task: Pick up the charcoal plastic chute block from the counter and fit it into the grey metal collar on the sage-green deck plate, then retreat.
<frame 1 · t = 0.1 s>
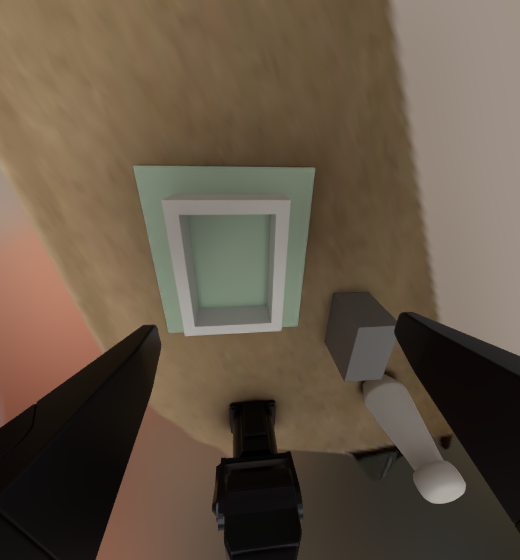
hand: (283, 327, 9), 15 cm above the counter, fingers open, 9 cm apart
salt shaker: (375, 381, 34), on the counter
chute block: (344, 317, 28), on the counter
deck plate: (231, 257, 23), on the counter
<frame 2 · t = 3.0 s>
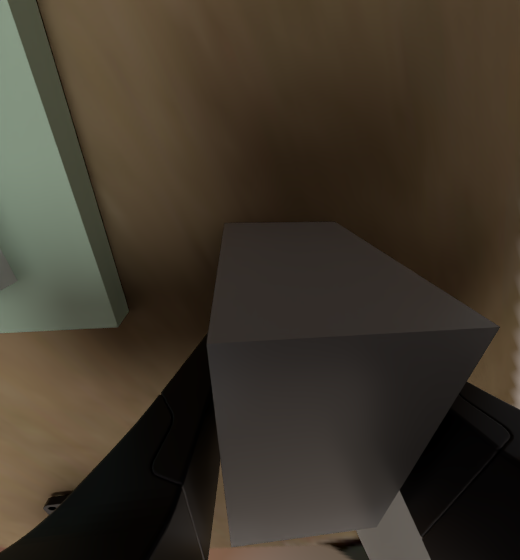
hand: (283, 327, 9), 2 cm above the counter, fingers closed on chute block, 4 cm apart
salt shaker: (367, 442, 16), on the counter
chute block: (276, 304, 10), on the counter, touching gripper
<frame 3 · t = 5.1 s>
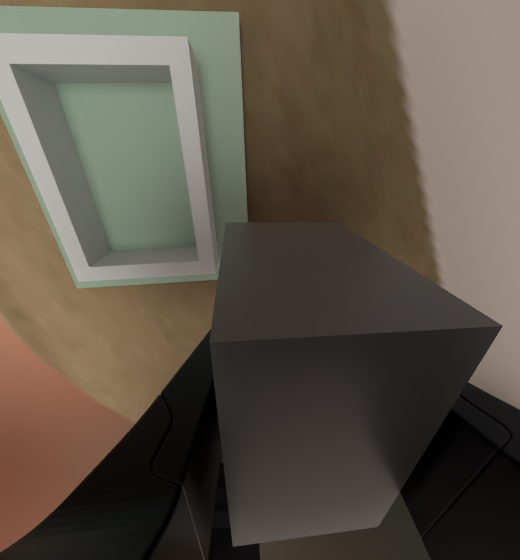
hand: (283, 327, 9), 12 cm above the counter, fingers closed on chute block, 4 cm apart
chute block: (277, 304, 10), point 11 cm above the counter, touching gripper
deck plate: (146, 176, 17), on the counter
when the fingers open (5 cm above the counter, at t = 7.6 s): chute block drops 2 cm, resting on deck plate.
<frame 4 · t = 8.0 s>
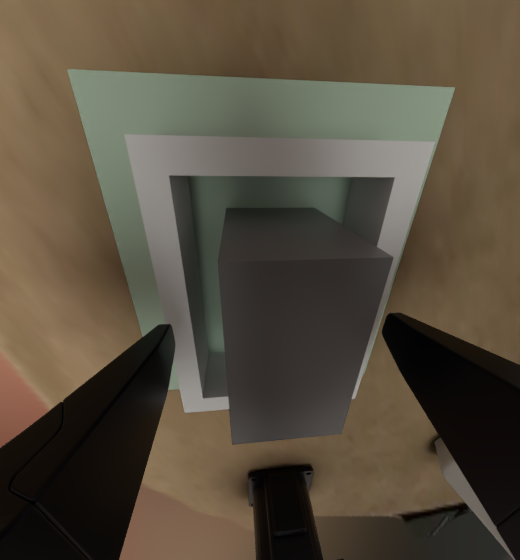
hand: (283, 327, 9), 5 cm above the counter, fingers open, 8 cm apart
salt shaker: (451, 437, 24), on the counter
chute block: (268, 277, 12), point 1 cm above the counter, touching deck plate
deck plate: (266, 269, 13), on the counter
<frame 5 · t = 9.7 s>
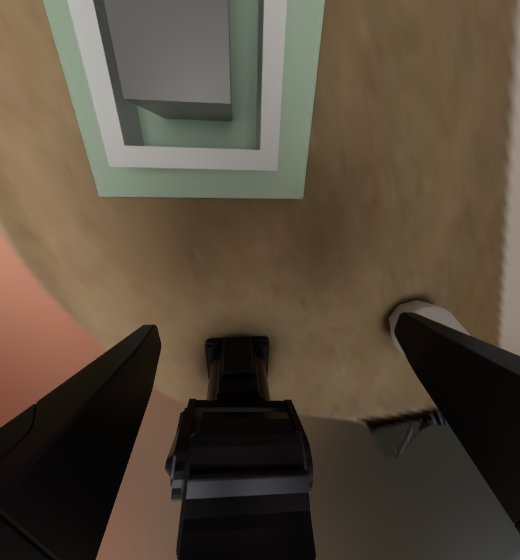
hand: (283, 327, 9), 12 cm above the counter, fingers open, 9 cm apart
salt shaker: (405, 315, 25), on the counter
chute block: (192, 41, 13), point 1 cm above the counter, touching deck plate
deck plate: (195, 49, 13), on the counter
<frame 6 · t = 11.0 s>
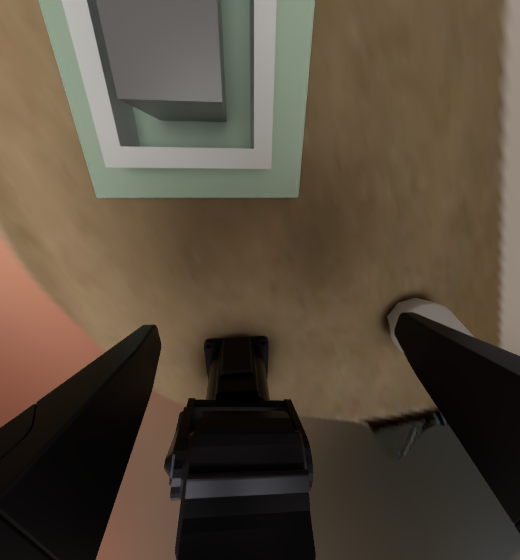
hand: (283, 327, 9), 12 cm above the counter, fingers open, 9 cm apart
salt shaker: (404, 313, 25), on the counter
chute block: (186, 45, 13), point 1 cm above the counter, touching deck plate
deck plate: (189, 52, 14), on the counter
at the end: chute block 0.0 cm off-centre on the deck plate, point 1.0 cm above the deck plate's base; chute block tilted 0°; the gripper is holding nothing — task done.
